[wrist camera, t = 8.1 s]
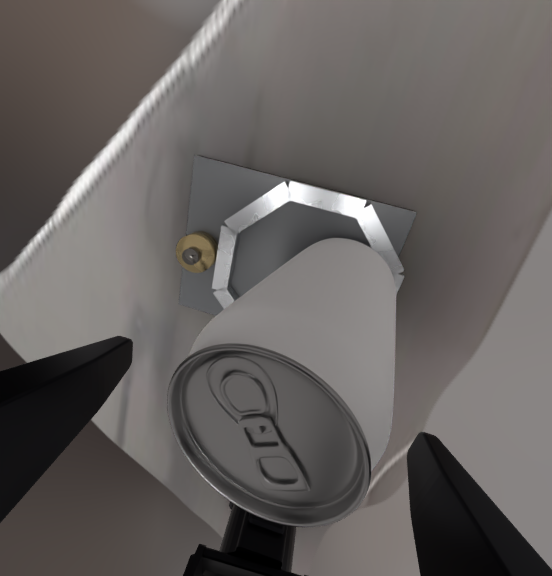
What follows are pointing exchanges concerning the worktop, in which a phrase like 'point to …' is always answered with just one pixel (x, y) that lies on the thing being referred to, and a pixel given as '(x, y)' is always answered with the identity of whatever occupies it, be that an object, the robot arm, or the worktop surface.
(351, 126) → the worktop surface
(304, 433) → the can
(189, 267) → the brass round knob
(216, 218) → the carrier plate
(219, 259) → the socket
